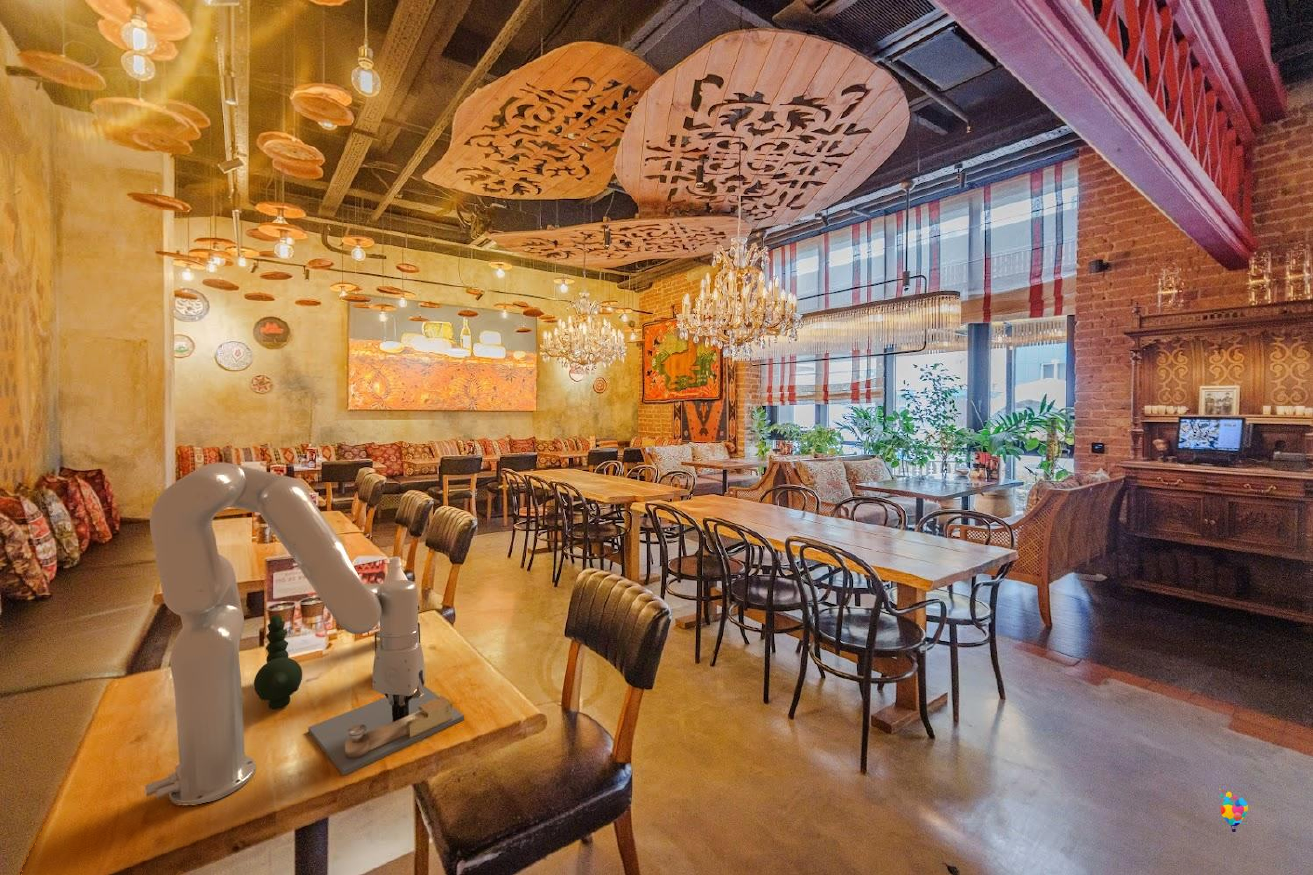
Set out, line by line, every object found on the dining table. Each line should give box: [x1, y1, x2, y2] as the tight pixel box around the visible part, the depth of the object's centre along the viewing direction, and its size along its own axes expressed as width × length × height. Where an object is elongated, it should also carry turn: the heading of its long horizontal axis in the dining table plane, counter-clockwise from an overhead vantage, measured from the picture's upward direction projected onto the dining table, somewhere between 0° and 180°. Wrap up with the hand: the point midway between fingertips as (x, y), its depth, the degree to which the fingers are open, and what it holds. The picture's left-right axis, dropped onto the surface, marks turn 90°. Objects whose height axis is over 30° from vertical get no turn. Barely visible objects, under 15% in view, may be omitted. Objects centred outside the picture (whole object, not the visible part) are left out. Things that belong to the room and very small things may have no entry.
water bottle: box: [382, 556, 409, 583], centre depth 164 cm, size 7×7×25 cm
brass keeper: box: [407, 695, 453, 739], centre depth 120 cm, size 10×4×4 cm, turn 138°
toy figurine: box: [253, 614, 303, 710], centre depth 133 cm, size 9×19×25 cm
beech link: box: [345, 711, 425, 758], centre depth 115 cm, size 18×4×2 cm, turn 137°
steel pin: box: [348, 724, 366, 743], centre depth 110 cm, size 3×3×2 cm
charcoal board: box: [307, 684, 465, 777], centre depth 121 cm, size 25×21×1 cm
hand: (400, 719), depth 120 cm, fingers closed
